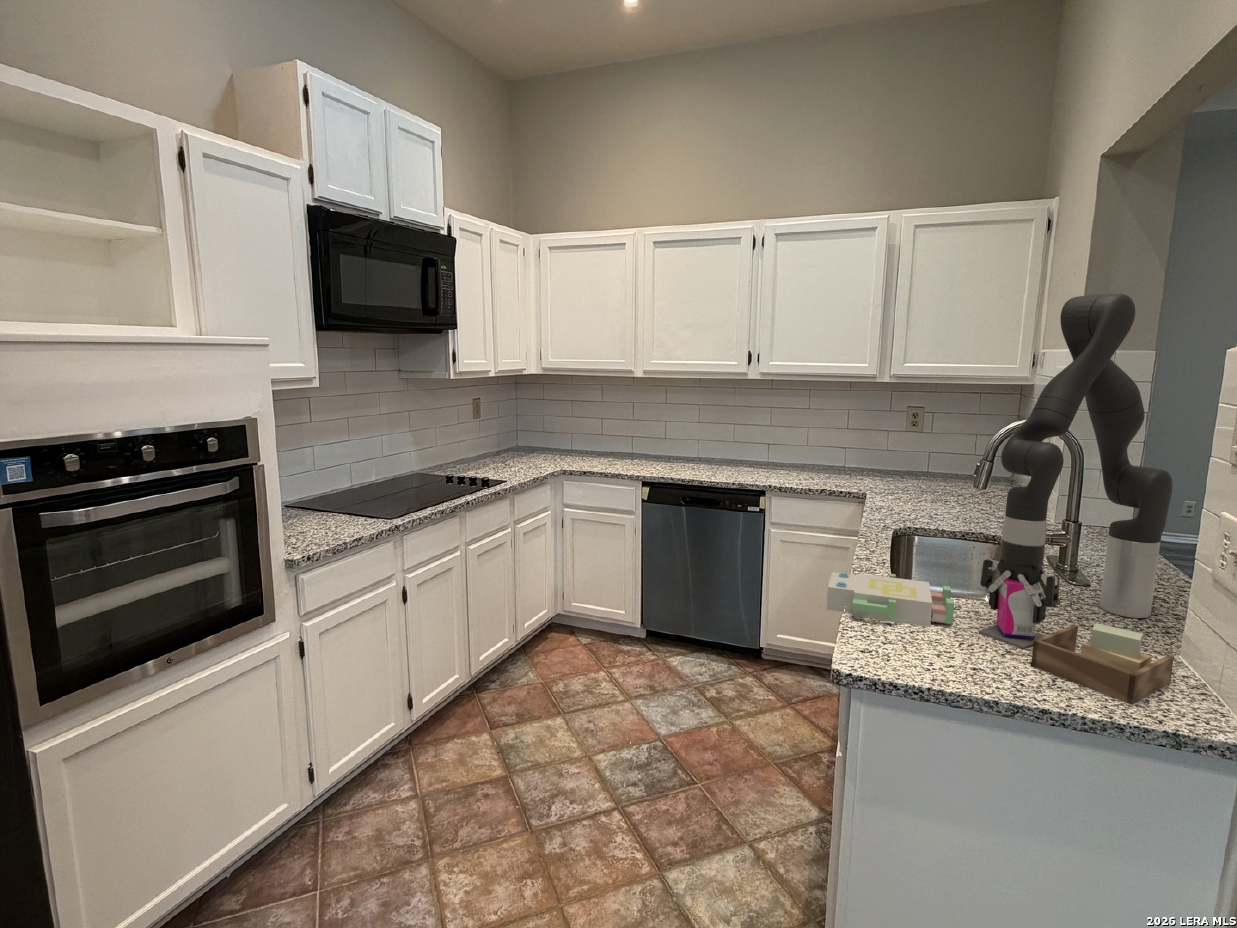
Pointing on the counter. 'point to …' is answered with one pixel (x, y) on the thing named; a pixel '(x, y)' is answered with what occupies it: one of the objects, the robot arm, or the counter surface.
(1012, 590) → the supplement box
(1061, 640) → the rack
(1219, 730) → the counter surface
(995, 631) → the mat
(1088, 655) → the offcut low
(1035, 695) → the counter surface
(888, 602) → the decorative block
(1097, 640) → the offcut top
